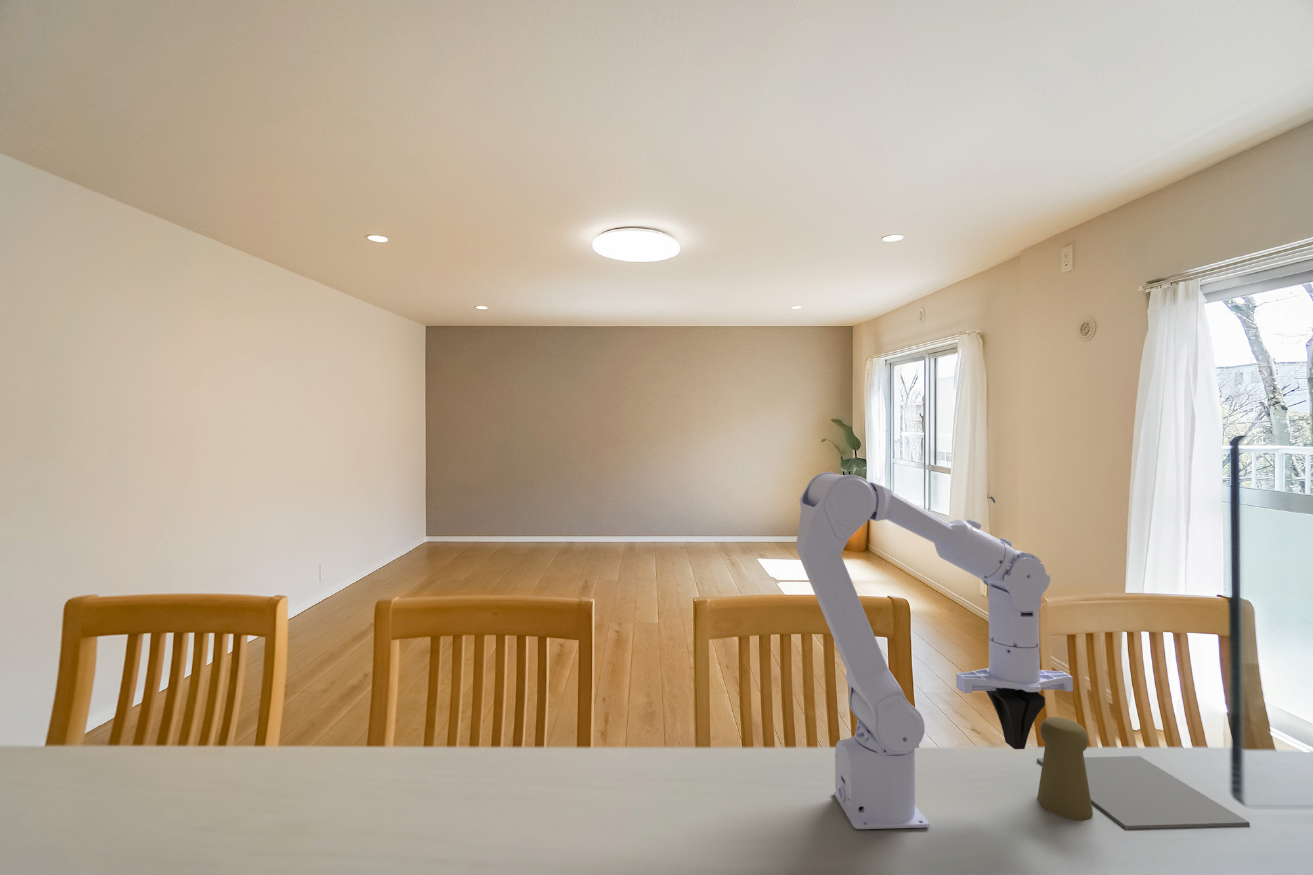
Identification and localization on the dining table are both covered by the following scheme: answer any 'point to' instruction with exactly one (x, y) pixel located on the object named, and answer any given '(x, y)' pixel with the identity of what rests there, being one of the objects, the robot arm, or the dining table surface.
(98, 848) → the dining table surface
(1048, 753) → the cork
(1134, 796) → the mat
